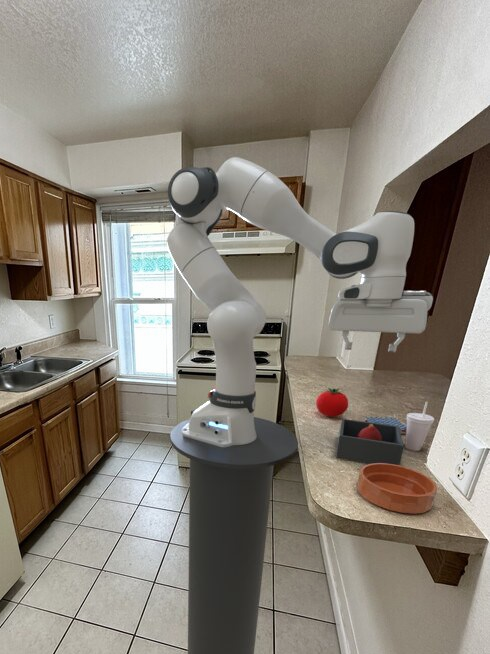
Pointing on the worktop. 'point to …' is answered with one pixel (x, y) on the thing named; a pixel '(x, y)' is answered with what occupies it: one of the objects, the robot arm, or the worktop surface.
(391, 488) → the bowl
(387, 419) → the woven mat
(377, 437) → the pomegranate
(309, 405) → the worktop surface
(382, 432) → the bin
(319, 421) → the worktop surface
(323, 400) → the tomato
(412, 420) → the smoothie
